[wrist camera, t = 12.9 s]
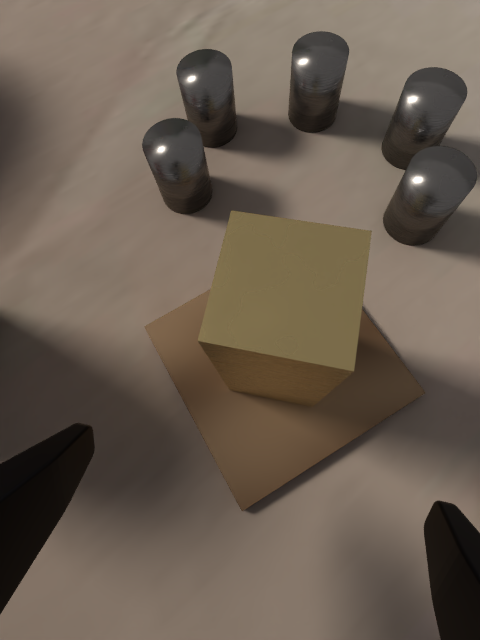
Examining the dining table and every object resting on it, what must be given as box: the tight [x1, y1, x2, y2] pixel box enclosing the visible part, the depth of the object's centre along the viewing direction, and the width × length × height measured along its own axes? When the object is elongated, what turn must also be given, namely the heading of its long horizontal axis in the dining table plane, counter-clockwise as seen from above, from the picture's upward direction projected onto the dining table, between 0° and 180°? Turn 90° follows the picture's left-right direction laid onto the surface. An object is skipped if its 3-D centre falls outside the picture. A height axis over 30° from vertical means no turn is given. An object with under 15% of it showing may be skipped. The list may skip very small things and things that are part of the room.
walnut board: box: [145, 289, 425, 511], centre depth 19 cm, size 10×10×1 cm
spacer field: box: [142, 31, 477, 245], centre depth 21 cm, size 10×16×4 cm, turn 78°
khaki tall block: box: [198, 210, 372, 407], centre depth 14 cm, size 4×4×9 cm
